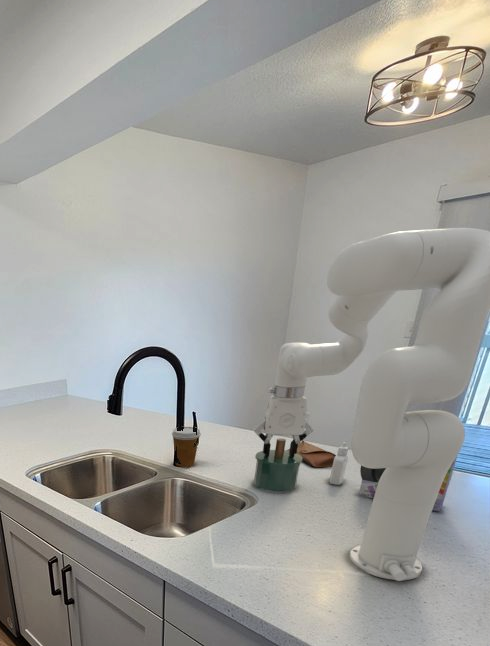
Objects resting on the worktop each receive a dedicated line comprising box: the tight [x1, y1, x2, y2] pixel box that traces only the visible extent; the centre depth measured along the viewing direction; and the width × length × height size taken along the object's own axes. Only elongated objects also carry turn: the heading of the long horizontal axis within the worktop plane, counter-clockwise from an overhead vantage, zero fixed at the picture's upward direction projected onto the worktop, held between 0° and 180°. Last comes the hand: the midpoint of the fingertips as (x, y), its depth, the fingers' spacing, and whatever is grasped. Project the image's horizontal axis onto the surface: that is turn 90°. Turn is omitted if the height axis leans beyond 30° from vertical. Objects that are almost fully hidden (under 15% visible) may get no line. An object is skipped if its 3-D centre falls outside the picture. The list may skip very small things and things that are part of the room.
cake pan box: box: [358, 454, 459, 512], centre depth 112 cm, size 19×5×18 cm, turn 45°
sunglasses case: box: [285, 439, 337, 468], centre depth 148 cm, size 18×7×7 cm, turn 12°
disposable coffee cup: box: [171, 426, 202, 468], centre depth 147 cm, size 10×10×12 cm
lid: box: [254, 438, 303, 466], centre depth 125 cm, size 13×13×6 cm
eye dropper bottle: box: [328, 442, 349, 486], centre depth 127 cm, size 4×6×12 cm
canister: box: [253, 459, 301, 493], centre depth 128 cm, size 11×11×8 cm
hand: (278, 455), depth 125 cm, fingers open, 6 cm apart
